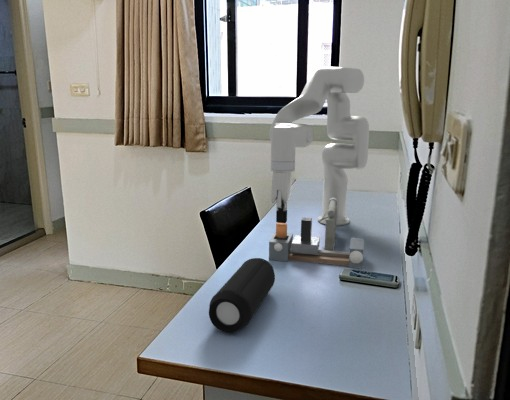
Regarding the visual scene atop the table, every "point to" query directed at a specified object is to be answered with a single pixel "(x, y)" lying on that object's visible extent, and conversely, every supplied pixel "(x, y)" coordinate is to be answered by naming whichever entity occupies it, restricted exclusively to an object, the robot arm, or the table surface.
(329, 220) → the geiger counter
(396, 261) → the table surface
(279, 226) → the button
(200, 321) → the table surface
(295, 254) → the rail base
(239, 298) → the portable speaker
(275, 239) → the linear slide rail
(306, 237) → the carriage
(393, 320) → the table surface
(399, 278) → the table surface
